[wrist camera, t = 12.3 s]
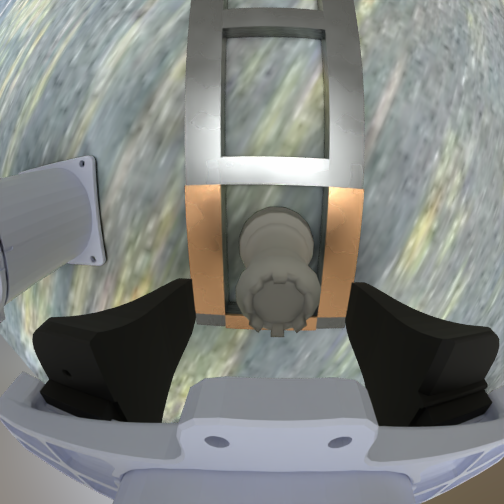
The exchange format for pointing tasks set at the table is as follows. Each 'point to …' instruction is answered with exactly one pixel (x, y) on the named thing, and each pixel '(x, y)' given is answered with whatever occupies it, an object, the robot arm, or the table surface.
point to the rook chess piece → (277, 271)
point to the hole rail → (273, 168)
